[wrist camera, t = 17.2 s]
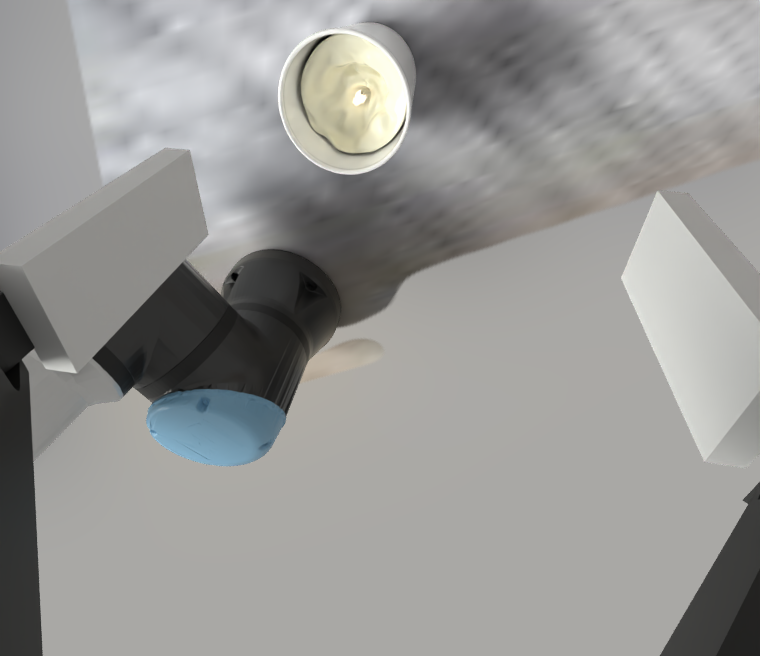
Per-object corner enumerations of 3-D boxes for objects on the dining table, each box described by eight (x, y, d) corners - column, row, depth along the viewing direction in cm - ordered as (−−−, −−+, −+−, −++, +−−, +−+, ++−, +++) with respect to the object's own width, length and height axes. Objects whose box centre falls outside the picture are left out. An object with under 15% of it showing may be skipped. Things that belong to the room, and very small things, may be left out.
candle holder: (381, 151, 47) (358, 199, 38) (300, 83, 45) (254, 117, 35) (447, 66, 42) (439, 98, 32) (359, -18, 39) (323, -9, 30)
